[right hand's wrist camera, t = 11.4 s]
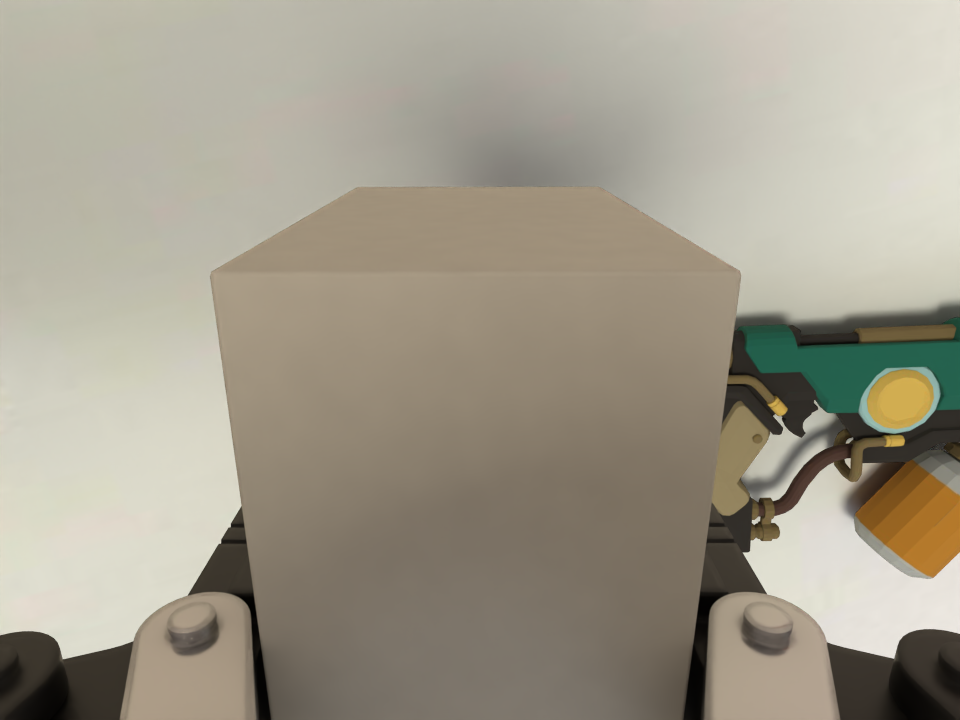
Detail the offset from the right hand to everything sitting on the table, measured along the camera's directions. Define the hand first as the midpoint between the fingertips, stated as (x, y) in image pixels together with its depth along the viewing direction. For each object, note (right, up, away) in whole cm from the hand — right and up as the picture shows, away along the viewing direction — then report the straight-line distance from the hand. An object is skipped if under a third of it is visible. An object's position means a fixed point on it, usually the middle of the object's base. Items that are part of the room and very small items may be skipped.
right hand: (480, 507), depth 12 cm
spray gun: (+18, 0, +22) cm, 28 cm away
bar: (0, -21, +11) cm, 24 cm away
